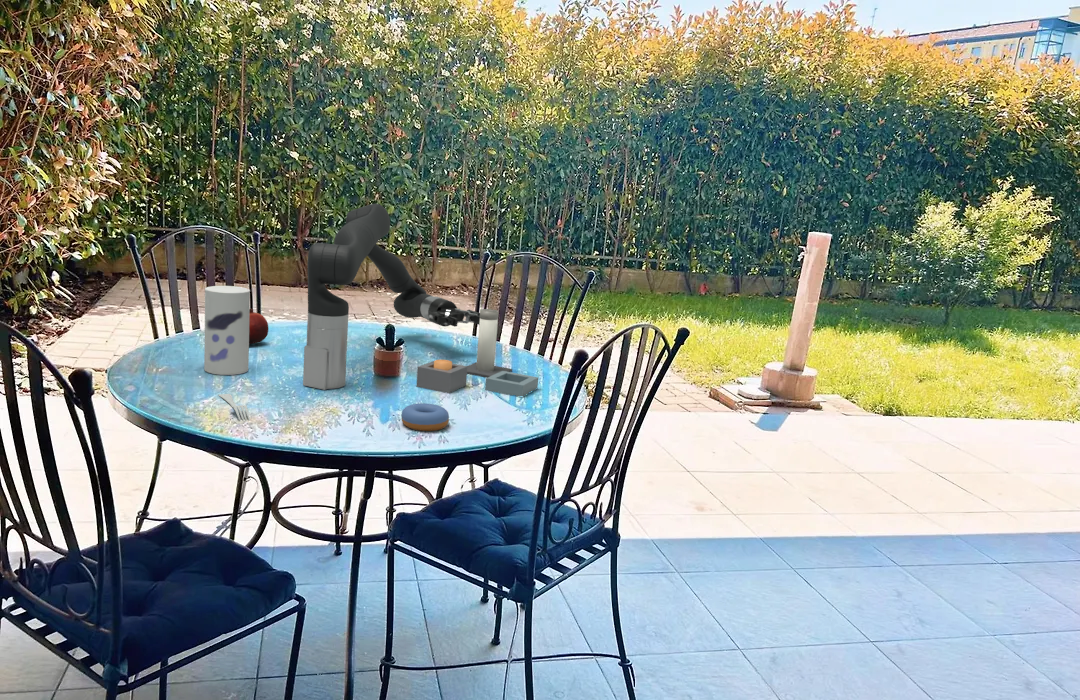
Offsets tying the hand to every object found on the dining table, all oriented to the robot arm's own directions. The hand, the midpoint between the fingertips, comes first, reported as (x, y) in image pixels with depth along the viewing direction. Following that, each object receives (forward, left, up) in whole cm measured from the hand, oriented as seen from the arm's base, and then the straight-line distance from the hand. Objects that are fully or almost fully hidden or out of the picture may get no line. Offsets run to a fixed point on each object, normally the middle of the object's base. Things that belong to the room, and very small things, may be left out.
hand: (469, 322), depth 230 cm
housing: (-17, -21, -12) cm, 29 cm away
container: (-48, +41, -12) cm, 64 cm away
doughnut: (-55, -18, -12) cm, 59 cm away
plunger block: (-26, -6, -12) cm, 29 cm away
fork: (-70, +20, -12) cm, 73 cm away
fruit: (-23, +56, -12) cm, 62 cm away
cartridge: (-5, -8, -11) cm, 14 cm away
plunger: (-26, -6, -11) cm, 29 cm away
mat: (-5, -8, -12) cm, 15 cm away
